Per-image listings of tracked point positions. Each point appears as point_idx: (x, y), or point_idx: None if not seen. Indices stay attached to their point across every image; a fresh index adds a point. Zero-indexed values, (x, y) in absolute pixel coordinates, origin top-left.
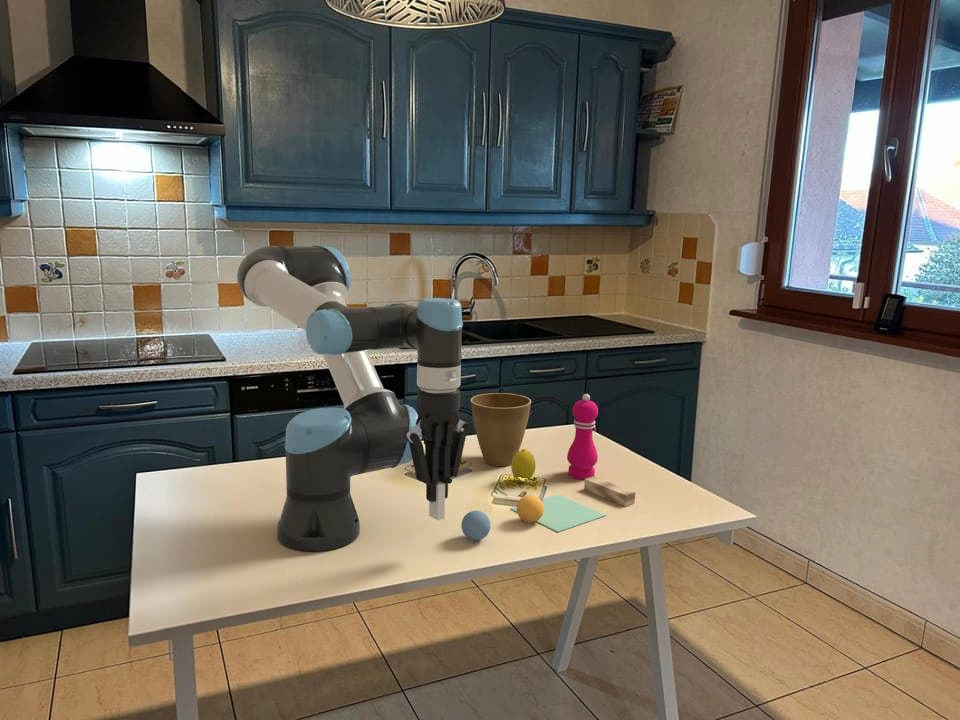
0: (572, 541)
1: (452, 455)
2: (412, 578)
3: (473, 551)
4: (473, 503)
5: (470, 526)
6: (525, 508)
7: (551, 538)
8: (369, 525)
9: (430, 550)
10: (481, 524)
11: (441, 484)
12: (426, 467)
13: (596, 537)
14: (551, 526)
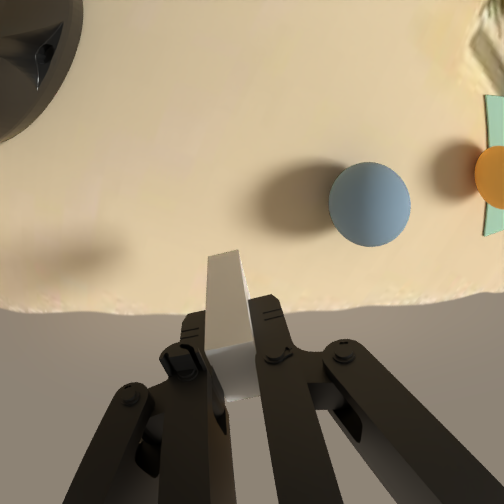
0: (474, 273)
1: (384, 464)
2: (139, 312)
3: (314, 250)
4: (437, 16)
5: (343, 233)
6: (493, 196)
7: (463, 251)
8: (116, 11)
9: (217, 208)
10: (370, 246)
11: (246, 397)
12: (153, 497)
13: (499, 272)
14: (490, 213)
